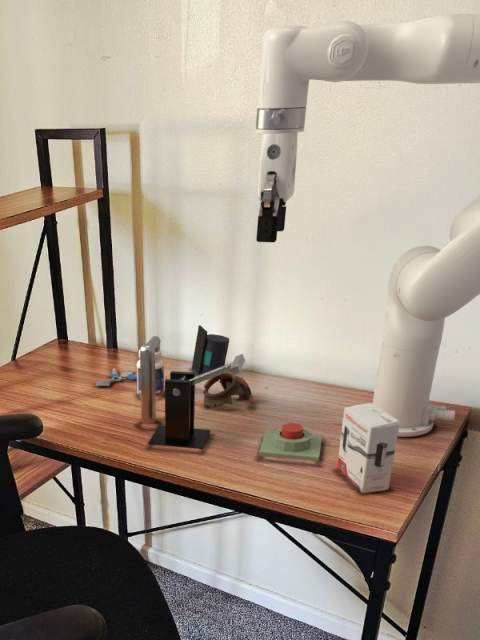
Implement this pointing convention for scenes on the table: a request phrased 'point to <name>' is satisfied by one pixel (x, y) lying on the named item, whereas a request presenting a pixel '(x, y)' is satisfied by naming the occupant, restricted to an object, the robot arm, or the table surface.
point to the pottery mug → (227, 390)
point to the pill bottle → (158, 375)
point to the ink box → (368, 446)
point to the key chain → (115, 375)
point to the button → (292, 431)
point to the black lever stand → (179, 415)
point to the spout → (148, 380)
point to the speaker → (209, 352)
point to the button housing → (291, 446)
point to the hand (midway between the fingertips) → (270, 236)
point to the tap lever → (218, 371)
